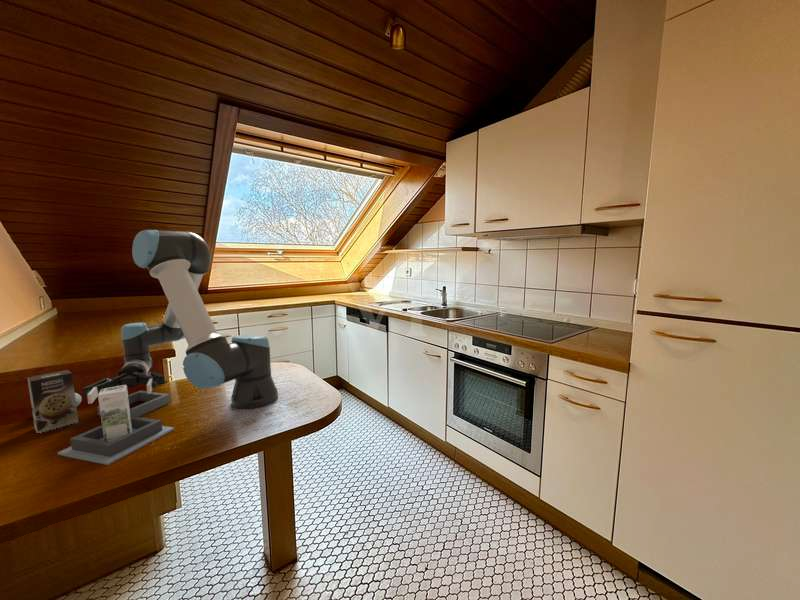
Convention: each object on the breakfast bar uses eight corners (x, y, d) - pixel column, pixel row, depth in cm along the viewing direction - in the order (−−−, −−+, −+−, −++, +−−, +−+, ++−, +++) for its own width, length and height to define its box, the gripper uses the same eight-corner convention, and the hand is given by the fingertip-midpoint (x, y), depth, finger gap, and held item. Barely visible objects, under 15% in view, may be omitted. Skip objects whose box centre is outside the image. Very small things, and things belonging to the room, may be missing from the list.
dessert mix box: (37, 434, 100) (29, 381, 98) (34, 428, 104) (25, 377, 102) (79, 422, 108) (72, 372, 106) (75, 417, 111) (67, 368, 109)
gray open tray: (170, 402, 121) (169, 394, 121) (129, 420, 108) (128, 411, 108) (141, 398, 125) (140, 390, 125) (98, 415, 112) (96, 406, 112)
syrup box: (133, 431, 100) (126, 383, 98) (131, 440, 95) (125, 389, 93) (107, 437, 97) (100, 388, 95) (104, 447, 92) (97, 394, 90)
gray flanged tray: (174, 429, 102) (172, 417, 101) (107, 465, 85) (105, 451, 84) (129, 422, 107) (127, 411, 106) (57, 454, 90) (55, 441, 89)
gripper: (177, 377, 126) (172, 397, 107) (87, 391, 114) (64, 416, 95) (175, 357, 125) (169, 373, 106) (84, 369, 113) (60, 390, 94)
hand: (119, 394), depth 101 cm, fingers open, 13 cm apart
